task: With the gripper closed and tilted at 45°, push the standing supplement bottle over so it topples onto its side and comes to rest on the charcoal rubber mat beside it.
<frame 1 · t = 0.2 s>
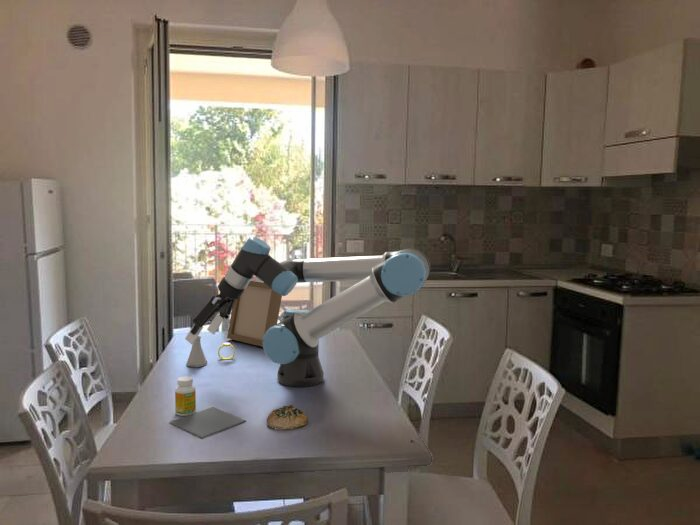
hand: (200, 336, 177), 15 cm above the table, tool tilted 35°, fingers open, 13 cm apart
flask: (196, 365, 199), on the table
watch: (226, 359, 206), on the table
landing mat: (207, 422, 150), on the table
bread roll: (287, 424, 151), on the table
photo frame: (258, 342, 231), on the table
supplement bottle: (185, 413, 156), on the table
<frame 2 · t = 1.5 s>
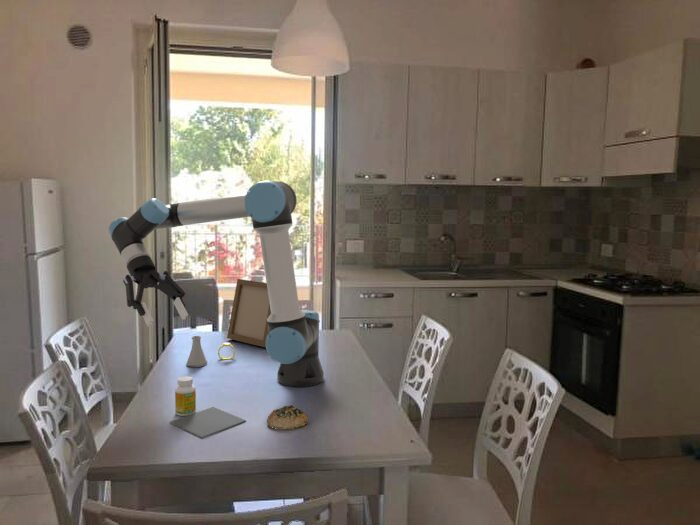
hand: (168, 320, 164), 23 cm above the table, tool tilted 45°, fingers open, 11 cm apart
nothing on the table moved.
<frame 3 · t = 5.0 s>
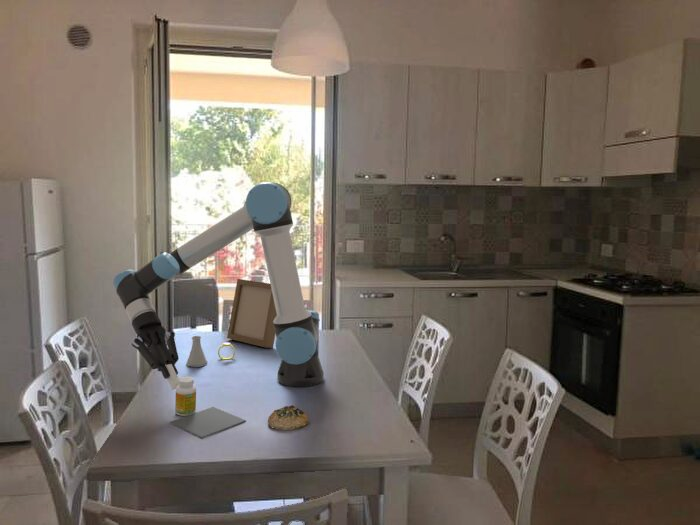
hand: (176, 386, 157), 7 cm above the table, tool tilted 45°, fingers closed
supplement bottle: (185, 412, 156), on the table, touching gripper
everything else where it was.
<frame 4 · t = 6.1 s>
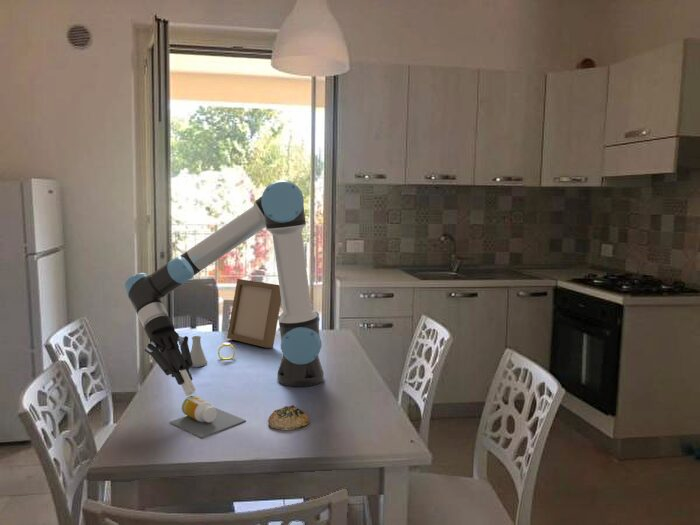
hand: (191, 392, 153), 7 cm above the table, tool tilted 45°, fingers closed
supplement bottle: (189, 404, 154), point 3 cm above the table, touching gripper, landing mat
everything else where it was.
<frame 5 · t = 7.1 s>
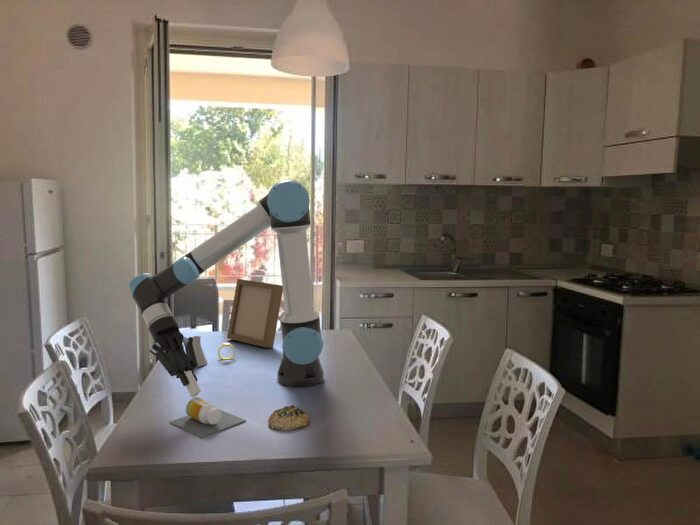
hand: (196, 394, 152), 7 cm above the table, tool tilted 45°, fingers closed
supplement bottle: (193, 406, 152), point 3 cm above the table, touching gripper, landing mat
everything else where it was.
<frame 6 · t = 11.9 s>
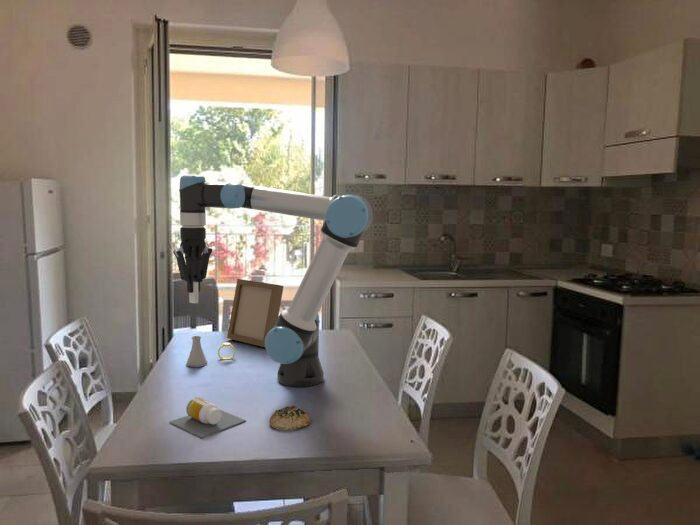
hand: (193, 302, 175), 26 cm above the table, tool pointing down, fingers closed
supplement bottle: (193, 406, 153), point 3 cm above the table, touching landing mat
everything else where it was.
at the end: supplement bottle tilted 90°; supplement bottle touching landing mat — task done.
